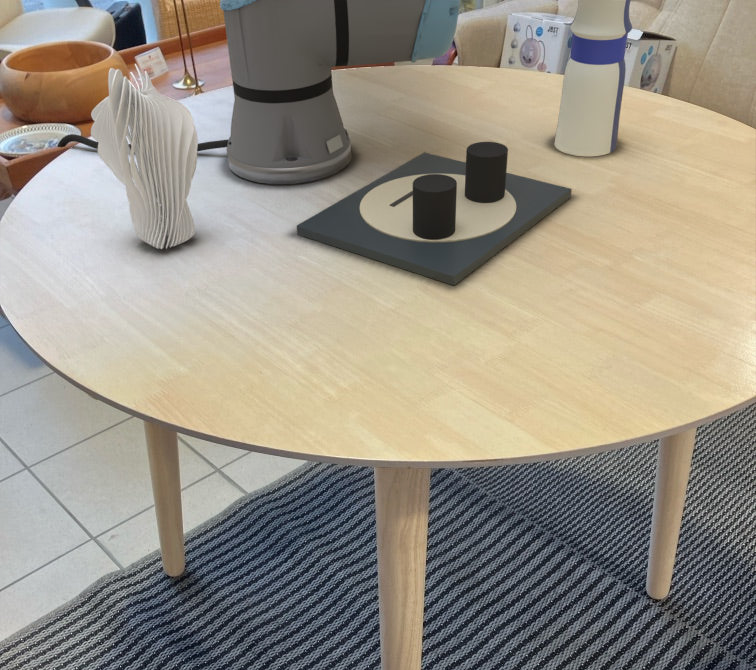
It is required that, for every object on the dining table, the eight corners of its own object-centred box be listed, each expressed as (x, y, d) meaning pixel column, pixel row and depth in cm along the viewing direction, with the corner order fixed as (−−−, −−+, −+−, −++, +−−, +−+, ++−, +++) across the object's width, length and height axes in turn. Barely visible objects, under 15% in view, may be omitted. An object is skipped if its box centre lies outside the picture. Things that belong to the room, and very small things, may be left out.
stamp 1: (404, 233, 88) (403, 185, 85) (428, 217, 91) (428, 170, 87) (439, 243, 86) (440, 195, 83) (463, 227, 89) (465, 180, 85)
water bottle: (560, 128, 112) (586, -105, 95) (626, 137, 109) (665, -102, 92) (540, 150, 106) (564, -92, 89) (608, 160, 103) (646, -88, 86)
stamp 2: (457, 197, 94) (458, 151, 91) (478, 183, 97) (480, 138, 93) (491, 206, 92) (494, 160, 89) (512, 192, 95) (515, 146, 91)
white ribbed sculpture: (174, 216, 96) (138, 39, 83) (218, 239, 91) (187, 55, 79) (109, 242, 91) (62, 59, 79) (153, 267, 87) (110, 77, 75)
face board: (297, 234, 91) (295, 222, 91) (424, 160, 105) (424, 149, 104) (454, 285, 82) (454, 273, 82) (570, 197, 96) (572, 186, 95)
